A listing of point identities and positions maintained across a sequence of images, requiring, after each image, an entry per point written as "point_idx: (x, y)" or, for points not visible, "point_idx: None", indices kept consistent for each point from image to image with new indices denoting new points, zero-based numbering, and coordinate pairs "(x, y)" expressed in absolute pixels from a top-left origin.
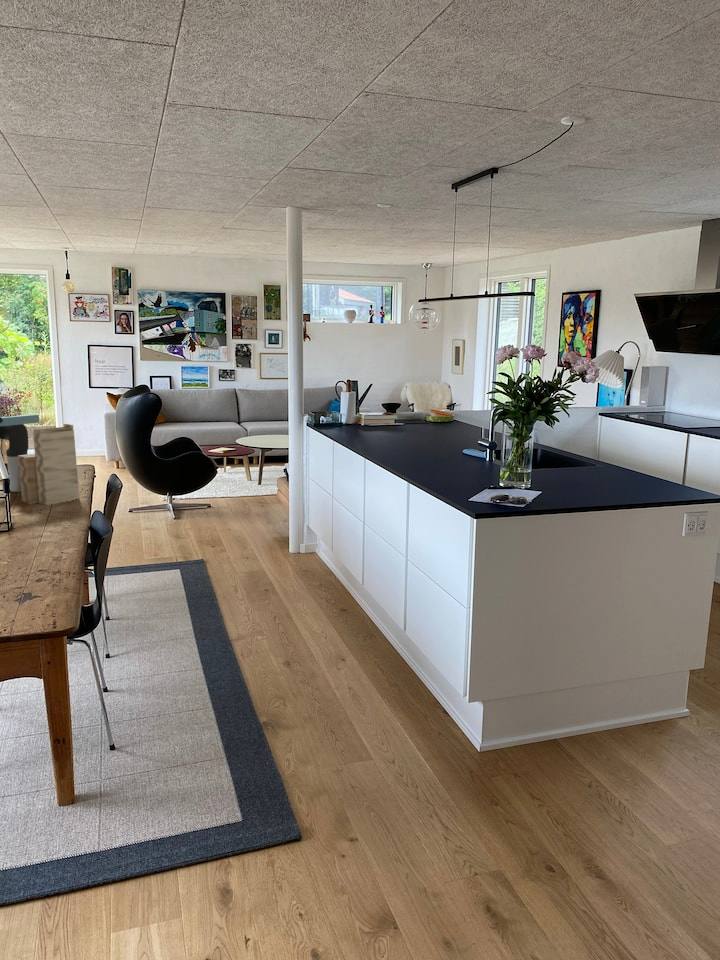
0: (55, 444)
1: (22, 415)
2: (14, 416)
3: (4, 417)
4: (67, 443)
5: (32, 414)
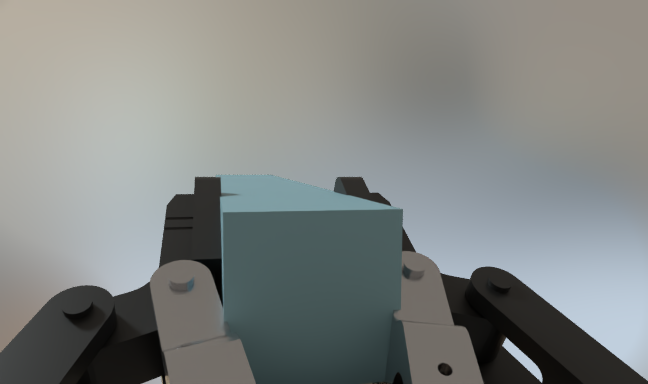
0: None
1: (230, 178)
2: (261, 182)
3: (288, 188)
4: None
5: (220, 175)
